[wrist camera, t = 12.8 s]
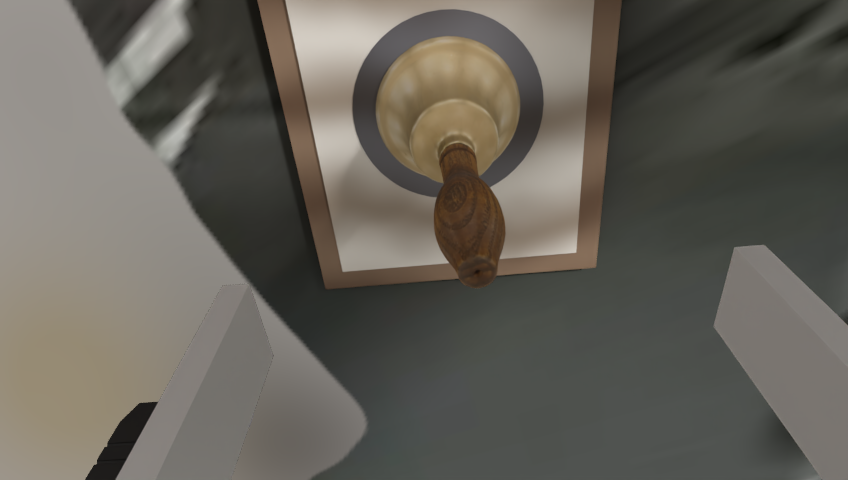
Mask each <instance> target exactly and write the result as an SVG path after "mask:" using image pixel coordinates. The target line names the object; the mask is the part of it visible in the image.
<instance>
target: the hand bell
mask: <svg viewBox="0 0 848 480" xmlns="http://www.w3.org/2000/svg"><path fill="white" fill-rule="evenodd" d="M519 116H520V95H519V90H518V86H517V83H516V80H515V78H514V75H513V74H512V72H511V70H510V68H509V67H508V65H507V64H506V62H505V61H504V60H503V59H502V58H501V57H500V56H499V55H498V54H497V53H496V52H494V51H493V50H492V49H490V48H489V47H488V46H486V45H484V44H482V43H480V42H478V41H475V40H472V39H469V38H464V37H458V36H442V37H436V38H431V39H428V40H425V41H422V42H420V43H418V44H416V45H414V46H412V47H411V48H409V49H408V50H407V51H405V52H404V53H403V54H402V55H400V56H399V57H398V58H397V59H396V60H395V61H394V62H393V64H392V65H391V66H390V67H389V69H388V71H387V72H386V74H385V75H384V77H383V79H382V81H381V84H380V87H379V90H378V94H377V100H376V120H377V125H378V129H379V132H380V135H381V137H382V140H383V142H384V143H385V145H386V147H387V148H388V150H389V151H390V153H391V154H392V155H393V156H394V157H395V158H396V159H397V160H398V161H399V162H400V163H401V164H403V165H404V166H406V167H407V168H409V169H411V170H412V171H414V172H416V173H418V174H421V175H424V176H427V177H429V178H430V179H432V180H434V181H437V182H440V183H444V184H443V186H442V187H441V189H440V191H439V193H438V195H437V198H436V202H435V208H434V231H435V236H436V240H437V243H438V245H439V248H440V250H441V252H442V253H443V255H444V257H445V258H446V259H447V261H448V262H449V263H450V264H451V265H452V267H453V268H454V269H455V271H456V273H457V275H458V277H459V280H460V281H461V282H462V283H463V284H464V285H466V286H469V287H472V288H481V287H485V286H487V285H489V284H490V283H492V282H493V280H494V279H495V277H496V275H497V271H498V261H499V258H500V255H501V253H502V250H503V246H504V242H505V234H506V232H505V220H504V216H503V212H502V209H501V206H500V204H499V202H498V199H497V198H496V196H495V194H494V193H493V191H492V190H491V188H490V187H489V186H488V185H487V184H486V183H485V182H484V181H483V180H482V179H480V178H479V176H480V175H482V174H483V173H484V172H485V171H486V170H487V169H488V168H489V167H490V165H491V164H492V162H493V161H495V160H496V159H497V158H498V157H499V156H500V155H501V154H502V153H503V151H504V150H505V149H506V147H507V146H508V145H509V143H510V141H511V139H512V137H513V135H514V133H515V131H516V128H517V125H518V121H519Z"/></svg>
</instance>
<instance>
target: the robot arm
mask: <svg viewBox="0 0 848 480" xmlns="http://www.w3.org/2000/svg"><path fill="white" fill-rule="evenodd" d="M714 327H715V329H716V330H717V332H718V333H719V335H720V336H721V337H722V339H723V340H724V342H725V343H726V344H727V346H728V347H729V349H730V350H731V351H732V353H733V354H734V356H735V357H736V358H737V360H738V361H739V363H740V364H741V366H742V367H743V368H744V370H745V371H746V373H747V374H748V375H749V377H750V378H751V380H752V381H753V382H754V384H755V385H756V387H757V388H758V390H759V391H760V392H761V394H762V395H763V397H764V398H765V399H766V401H767V402H768V404H769V405H770V406H771V408H772V409H773V411H774V412H775V414H776V415H777V416H778V418H779V419H780V421H781V422H782V423H783V425H784V426H785V428H786V429H787V430H788V432H789V433H790V435H791V436H792V438H793V439H794V440H795V442H796V443H797V445H798V446H799V447H800V449H801V450H802V452H803V453H804V454H805V456H806V457H807V459H808V460H809V461H810V463H811V464H812V466H813V467H814V469H815V470H816V471H817V473H818V474H819V476H820V477H821V478H822V480H848V325H847V324H846V323H845V322H844V321H843V320H842V319H841V318H840V317H839V316H838V315H837V314H836V313H835V312H833V311H832V310H831V309H830V308H829V307H828V306H827V305H826V304H825V303H824V302H823V301H822V300H821V299H820V298H819V297H818V296H817V295H816V294H815V293H814V292H813V291H812V290H811V289H810V288H809V287H807V286H806V285H805V284H804V283H803V282H802V281H801V280H800V279H799V278H798V277H797V276H796V275H795V274H794V273H793V272H792V271H791V270H790V269H789V268H788V267H787V266H786V265H785V264H784V263H783V262H781V261H780V260H779V259H778V258H777V257H776V256H775V255H774V254H773V253H772V252H771V251H770V250H769V249H768V248H767V247H766V246H765V245H758V246H744V247H735V248H734V251H733V255H732V259H731V263H730V266H729V270H728V274H727V278H726V282H725V285H724V289H723V293H722V297H721V300H720V304H719V308H718V312H717V316H716V319H715V323H714ZM272 359H273V353H272V350H271V347H270V344H269V341H268V338H267V335H266V332H265V329H264V326H263V323H262V320H261V317H260V314H259V311H258V308H257V305H256V302H255V300H254V296H253V293H252V290H251V287H250V284H239V285H224V286H222V287H221V289H220V291H219V293H218V294H217V296H216V298H215V300H214V302H213V303H212V306H211V307H210V309H209V311H208V313H207V314H206V316H205V318H204V320H203V322H202V324H201V325H200V327H199V329H198V331H197V333H196V334H195V336H194V338H193V340H192V342H191V343H190V345H189V347H188V349H187V351H186V353H185V354H184V356H183V358H182V360H181V362H180V363H179V365H178V367H177V369H176V371H175V373H174V374H173V376H172V378H171V380H170V382H169V384H168V385H167V387H166V389H165V391H164V393H163V394H162V396H161V398H160V400H159V402H148V403H139V404H138V405H137V406H136V407H135V408H134V409H133V410H132V411H131V412H130V413H129V414H128V415H127V416H126V417H125V418H124V419H123V420H122V421H121V422H120V423H119V425H118V426H117V428H116V429H115V431H114V433H113V434H112V436H111V438H110V440H109V441H108V445H107V447H105V448H104V449H103V451H102V453H101V454H100V456H99V458H98V460H97V464H96V465H94V466H93V468H92V469H91V471H90V473H89V474H88V476H87V477H86V479H85V480H231V478H232V475H233V472H234V469H235V466H236V464H237V461H238V458H239V455H240V452H241V449H242V446H243V443H244V440H245V437H246V435H247V432H248V429H249V426H250V422H251V420H252V417H253V414H254V411H255V408H256V406H257V403H258V400H259V397H260V394H261V391H262V388H263V385H264V382H265V379H266V377H267V374H268V371H269V368H270V365H271V362H272Z"/></svg>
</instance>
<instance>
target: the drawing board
mask: <svg viewBox="0 0 848 480" xmlns="http://www.w3.org/2000/svg"><path fill="white" fill-rule="evenodd" d="M257 1H258V5H259V10H260V14H261V18H262V22H263V26H264V31H265V35H266V39H267V43H268V48H269V52H270V56H271V60H272V64H273V69H274V73H275V77H276V81H277V86H278V90H279V94H280V98H281V102H282V107H283V111H284V115H285V119H286V124H287V128H288V132H289V136H290V140H291V145H292V149H293V153H294V157H295V162H296V166H297V170H298V174H299V179H300V183H301V187H302V191H303V195H304V200H305V204H306V208H307V212H308V217H309V221H310V225H311V229H312V233H313V238H314V242H315V246H316V250H317V255H318V259H319V263H320V267H321V271H322V276H323V280H324V284H325V288H326V289H336V288H349V287H361V286H373V285H386V284H398V283H411V282H423V281H435V280H448V279H459V277H458V275H457V273H456V271H455V269H454V268H453V267H452V265H451V264H450V263H449V262H448V261H447V259H446V258H445V257H444V255H443V253H442V252H441V250H440V248H439V245H438V243H437V240H436V236H435V231H434V208H435V202H436V198H437V195H438V193H439V191H440V189H441V187H442V186H443V184H444V183H440V182H437V181H434V180H432V179H430V178H429V177H427V176H424V175H421V174H418V173H416V172H414V171H412V170H411V169H409V168H407V167H406V166H404V165H403V164H401V163H400V162H399V161H398V160H397V159H396V158H395V157H394V156H393V155H392V154H391V153H390V151H389V150H388V148H387V147H386V145H385V143H384V142H383V140H382V137H381V135H380V132H379V129H378V125H377V120H376V100H377V94H378V90H379V87H380V84H381V81H382V79H383V77H384V75H385V74H386V72H387V71H388V69H389V67H390V66H391V65H392V64H393V62H394V61H395V60H396V59H397V58H398V57H399V56H400V55H402V54H403V53H404V52H405V51H407V50H408V49H409V48H411V47H412V46H414V45H416V44H418V43H420V42H422V41H425V40H428V39H431V38H436V37H442V36H458V37H464V38H469V39H472V40H475V41H478V42H480V43H482V44H484V45H486V46H488V47H489V48H490V49H492V50H493V51H494V52H496V53H497V54H498V55H499V56H500V57H501V58H502V59H503V60H504V61H505V62H506V64H507V65H508V67H509V68H510V70H511V72H512V74H513V75H514V78H515V80H516V83H517V86H518V90H519V95H520V116H519V121H518V125H517V128H516V131H515V133H514V135H513V137H512V139H511V141H510V143H509V145H508V146H507V147H506V149H505V150H504V151H503V153H502V154H501V155H500V156H499V157H498V158H497V159H496V160H495V161H493V162H492V164H491V165H490V167H489V168H488V169H487V170H486V171H485V172H484V173H483V174H482V175H480V176H479V178H480V179H482V180H483V181H484V182H485V183H486V184H487V185H488V186H489V187H490V188H491V190H492V191H493V193H494V194H495V196H496V198H497V199H498V202H499V204H500V206H501V209H502V212H503V216H504V220H505V232H506V234H505V242H504V246H503V250H502V253H501V255H500V258H499V261H498V271H497V275H510V274H522V273H535V272H547V271H559V270H572V269H584V268H596V262H597V251H598V241H599V231H600V220H601V210H602V200H603V189H604V179H605V169H606V158H607V148H608V138H609V127H610V117H611V107H612V96H613V86H614V76H615V65H616V55H617V45H618V34H619V24H620V14H621V3H622V0H257ZM497 275H496V276H497Z"/></svg>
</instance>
